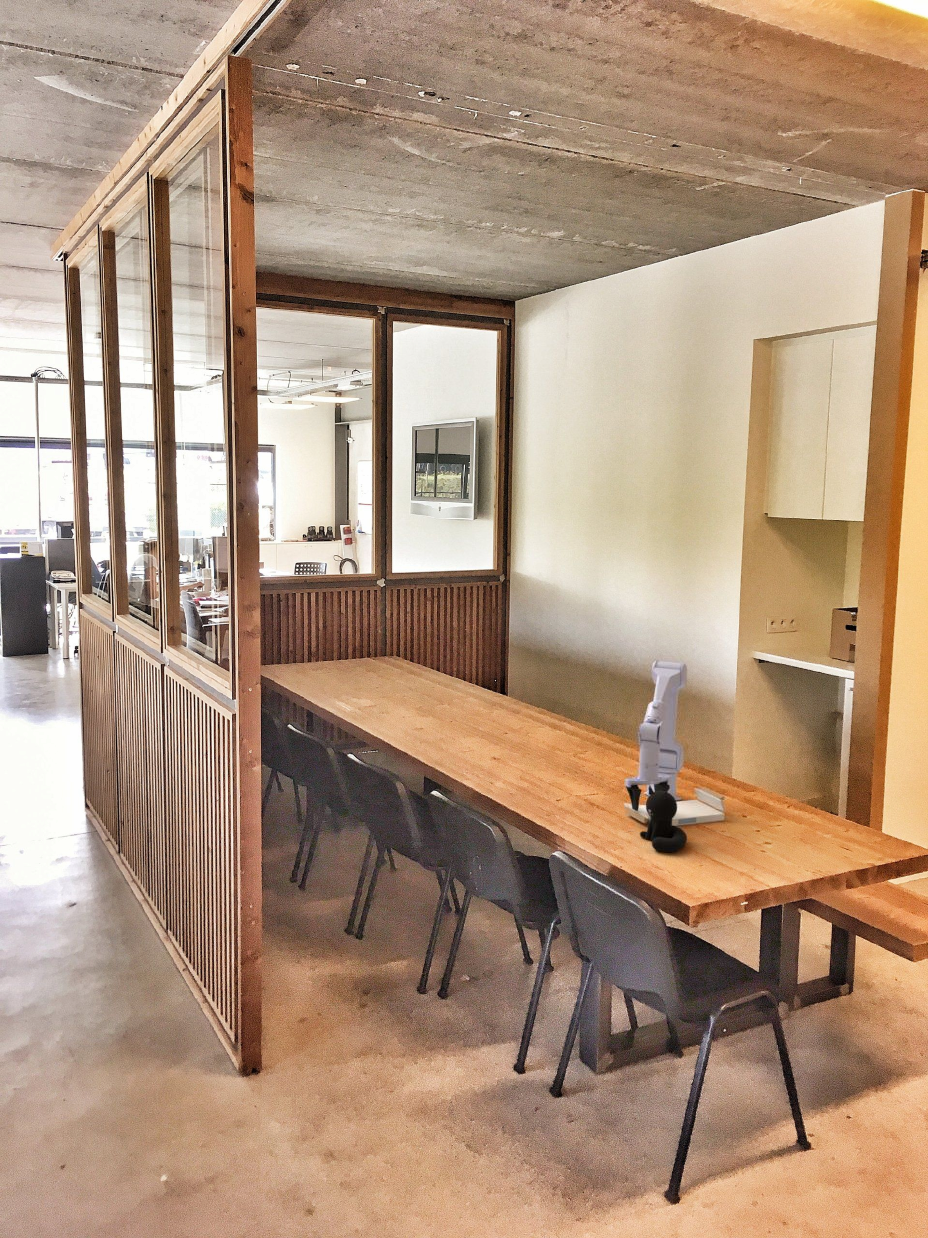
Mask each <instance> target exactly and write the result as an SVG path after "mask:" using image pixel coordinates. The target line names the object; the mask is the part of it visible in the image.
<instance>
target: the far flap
mask: <svg viewBox="0 0 928 1238" xmlns="http://www.w3.org/2000/svg"><path fill="white" fill-rule="evenodd" d="M694 792H695V795H696V798H697V799H696V800H698V801H700V802H702V803H704V804H705V803H706V805H708V806H710V807H712V808H714V809H716V810H717V809H718V811H720V812H722V813H724V812H726V810H725V806H724V802H723V801H724V800H725V796H724V795H723V794H721V793H718V792H716V791H713V790H712V789H709V788H707V787H705V786H702V787H701V788H697V787H695V788H694Z"/></svg>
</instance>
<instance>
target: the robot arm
mask: <svg viewBox="0 0 928 1238" xmlns="http://www.w3.org/2000/svg"><path fill="white" fill-rule="evenodd" d="M687 675H688V668H687V665H686V662H670V661H661V660H655V661H654V662H653V663H652V666H651V678H652V680H653V683H654V685H655V689H654V694H653V701H651V702H649V703H648V705H647V708H646V711H645V715H644V718H643V722H642V723H640V724H639V727H638V732H637V735H638V736H637V737H638V748H639V756H638V757H639V759H638V760H639V761H638V775H637V776H633V777H629V778H625V779H624V787H625V790H626V791H627V792H628V795H629V798H630V804H632V809H633V810H635V811H638V808H639V805H640V799H641V798H640V797H641V793H642V791H643V789H641V788H639V786H646V791H644V795H646V796H648V797H649V796H650V795H648V794H649V785H650V786H651V788H652V790H653V791H654V792H656V791H665V792H666V791H667V792H668V793H670V794H671V795H672V796H673V797H674V798H675V800H676V801H682V797H680V796H677V787H678V786H677V785H678V783H677V781H678V772H680V771H681V770H682V769H683V767H684V759H685V755H684V747H683V745H682V744H681V743H680V742H679V741H678V740H676V730H677V716H678V705H679V704H678V702H679V693H680V690H681V689H684V688H685V687H686V684H687V678H688V677H687Z"/></svg>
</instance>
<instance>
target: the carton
mask: <svg viewBox="0 0 928 1238" xmlns="http://www.w3.org/2000/svg"><path fill="white" fill-rule="evenodd" d="M676 803H677V812H676V814H675V816H674V817H673V818H672V825H673V826H676V827H679V826H686V825H694V824H695V825H696V824H703V823H713V822H721V821H725V813H724V812H723V811H721V810H719V809H718V810H717V808H715V807H713V806H711V805H709V804H707V803H706V804H705V802H703V801H701V800H699V799H693V800H692V799H690V800H689V799H688V800H678V801H676ZM639 807H640V808H642V809H644V810H645V811H647V810H646V804H641V805H640V804H639ZM647 822H650V819H647Z"/></svg>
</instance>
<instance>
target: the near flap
mask: <svg viewBox="0 0 928 1238" xmlns="http://www.w3.org/2000/svg"><path fill="white" fill-rule="evenodd" d="M623 806H625V813H626V814H627V815H629V816H631V817H632V818H634V819H636V820H637V821H639V822H641V823H643V824H648V820H647V819H651V817H650V816H649V814H648V813H647V811H645V810H644V809H642V808H640V807H639V808H638V811H635V810H633V809H632V803H626V802H624V803H623Z"/></svg>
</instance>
